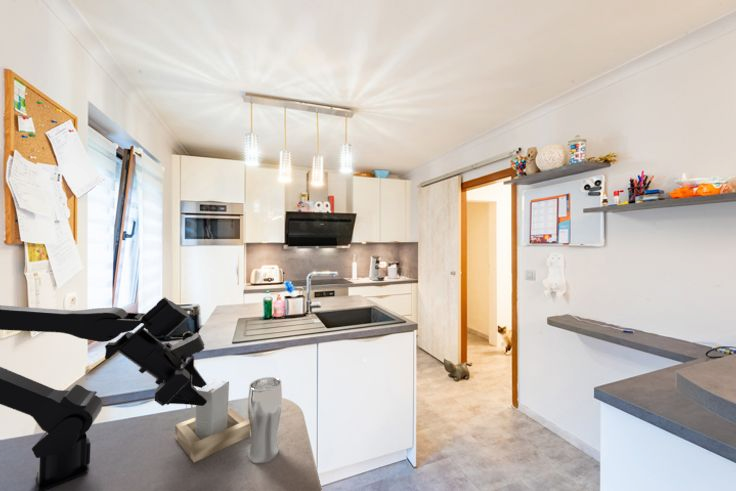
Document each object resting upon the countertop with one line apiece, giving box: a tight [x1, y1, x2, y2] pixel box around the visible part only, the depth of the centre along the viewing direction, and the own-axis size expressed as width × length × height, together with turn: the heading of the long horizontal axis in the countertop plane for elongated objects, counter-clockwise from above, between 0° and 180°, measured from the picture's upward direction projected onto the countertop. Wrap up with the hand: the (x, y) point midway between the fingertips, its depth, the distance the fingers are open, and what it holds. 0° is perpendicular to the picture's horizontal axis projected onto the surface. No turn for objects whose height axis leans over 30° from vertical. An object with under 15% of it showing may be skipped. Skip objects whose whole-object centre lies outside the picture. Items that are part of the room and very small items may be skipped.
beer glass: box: [247, 376, 283, 464], centre depth 64 cm, size 7×7×15 cm
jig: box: [174, 405, 251, 463], centre depth 69 cm, size 12×12×3 cm
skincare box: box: [195, 379, 230, 440], centre depth 69 cm, size 6×4×12 cm
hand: (205, 394), depth 69 cm, fingers open, 9 cm apart
